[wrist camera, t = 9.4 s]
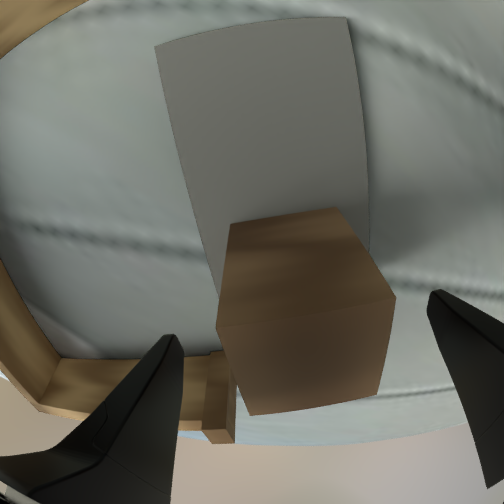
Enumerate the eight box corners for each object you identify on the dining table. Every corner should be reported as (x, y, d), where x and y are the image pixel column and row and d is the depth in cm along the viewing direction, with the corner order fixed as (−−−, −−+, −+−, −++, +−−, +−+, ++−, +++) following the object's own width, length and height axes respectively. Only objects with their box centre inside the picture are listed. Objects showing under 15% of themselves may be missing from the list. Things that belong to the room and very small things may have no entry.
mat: (251, 391, 18) (251, 395, 18) (157, 48, 9) (154, 46, 8) (356, 374, 18) (358, 378, 17) (342, 19, 8) (345, 17, 8)
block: (250, 306, 14) (249, 415, 9) (230, 223, 12) (215, 327, 7) (339, 292, 14) (376, 394, 9) (336, 206, 12) (396, 297, 6)
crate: (61, 370, 18) (38, 420, 14) (-56, 92, 7) (-113, 111, 3) (237, 368, 17) (234, 443, 13) (132, -44, 6) (76, -94, 2)
